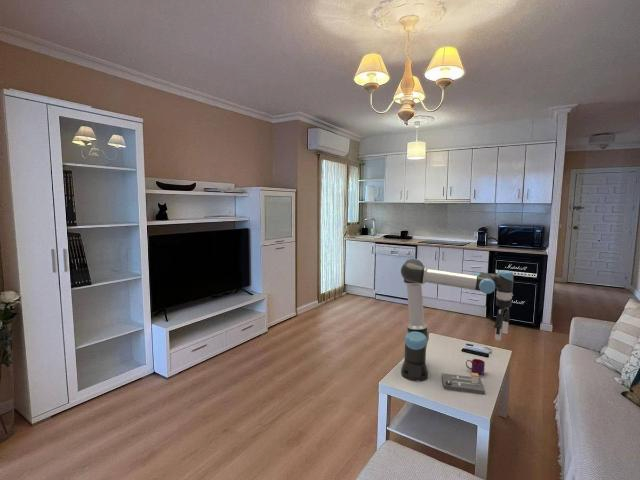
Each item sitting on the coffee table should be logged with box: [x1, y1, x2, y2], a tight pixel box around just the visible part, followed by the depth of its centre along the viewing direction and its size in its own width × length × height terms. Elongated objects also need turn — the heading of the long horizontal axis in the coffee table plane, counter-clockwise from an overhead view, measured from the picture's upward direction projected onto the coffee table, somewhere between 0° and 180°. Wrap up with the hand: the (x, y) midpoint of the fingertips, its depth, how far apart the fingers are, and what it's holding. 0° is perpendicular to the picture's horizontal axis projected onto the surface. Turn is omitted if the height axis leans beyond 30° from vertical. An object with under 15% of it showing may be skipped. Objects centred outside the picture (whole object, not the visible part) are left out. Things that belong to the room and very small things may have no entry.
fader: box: [470, 372, 480, 384], centre depth 186 cm, size 3×3×5 cm
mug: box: [465, 358, 486, 376], centre depth 203 cm, size 7×10×7 cm
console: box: [441, 372, 486, 395], centre depth 188 cm, size 20×14×3 cm
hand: (501, 336), depth 193 cm, fingers open, 13 cm apart
